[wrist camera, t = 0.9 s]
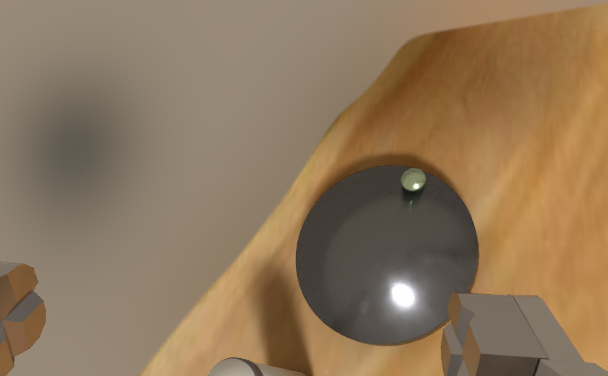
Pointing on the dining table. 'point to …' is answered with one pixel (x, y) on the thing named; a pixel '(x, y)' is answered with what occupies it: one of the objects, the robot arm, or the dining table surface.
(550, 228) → the dining table surface
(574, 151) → the dining table surface
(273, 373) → the white lidded container
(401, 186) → the base
